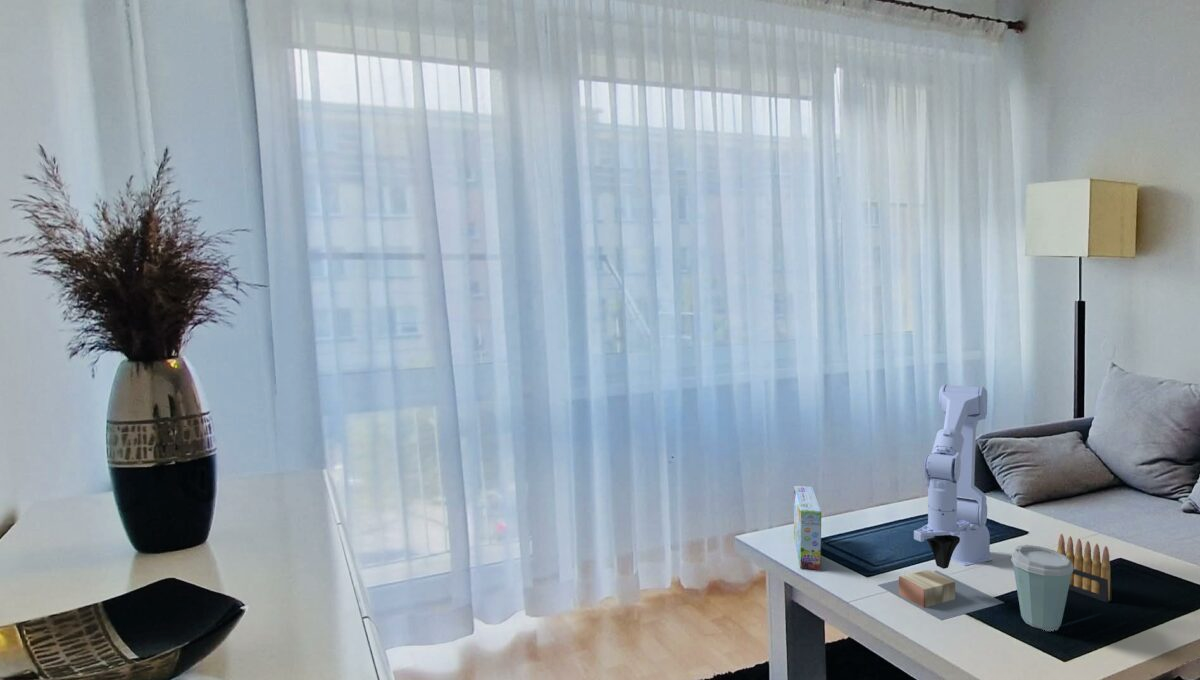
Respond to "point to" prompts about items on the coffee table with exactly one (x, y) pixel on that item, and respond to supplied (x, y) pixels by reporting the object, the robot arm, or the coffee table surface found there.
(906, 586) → the beech block
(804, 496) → the snack box
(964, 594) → the rubber mat
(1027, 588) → the disposable coffee cup
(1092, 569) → the ammunition clip
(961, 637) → the coffee table surface
